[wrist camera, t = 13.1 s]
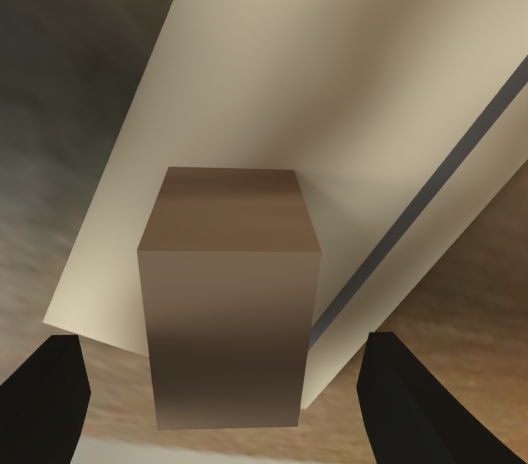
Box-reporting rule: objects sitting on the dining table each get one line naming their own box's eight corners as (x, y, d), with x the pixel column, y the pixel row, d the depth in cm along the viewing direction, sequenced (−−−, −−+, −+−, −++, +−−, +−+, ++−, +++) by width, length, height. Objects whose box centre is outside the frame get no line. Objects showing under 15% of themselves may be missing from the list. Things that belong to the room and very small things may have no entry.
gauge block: (168, 166, 13) (136, 250, 9) (293, 169, 14) (322, 251, 9) (180, 347, 17) (161, 467, 13) (277, 346, 17) (292, 463, 13)
